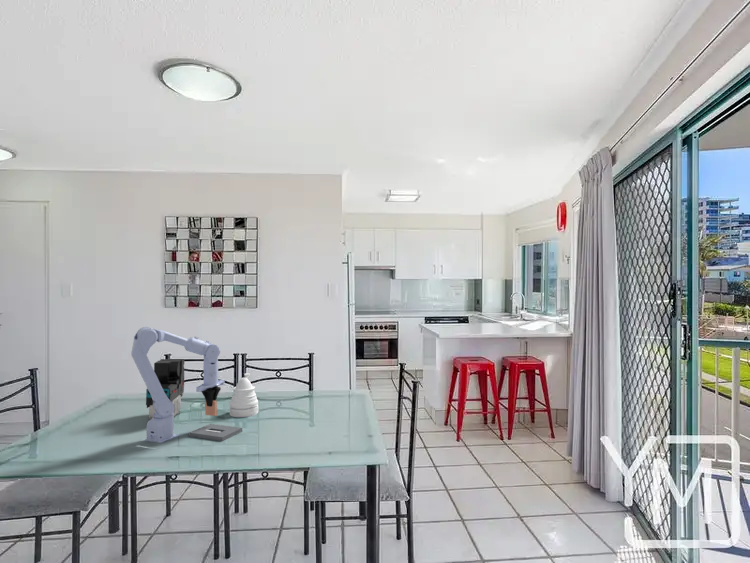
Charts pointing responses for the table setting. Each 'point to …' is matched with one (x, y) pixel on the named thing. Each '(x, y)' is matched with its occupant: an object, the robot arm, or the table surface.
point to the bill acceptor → (168, 383)
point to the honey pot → (244, 399)
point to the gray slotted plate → (215, 432)
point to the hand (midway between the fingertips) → (211, 405)
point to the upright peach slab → (211, 409)
